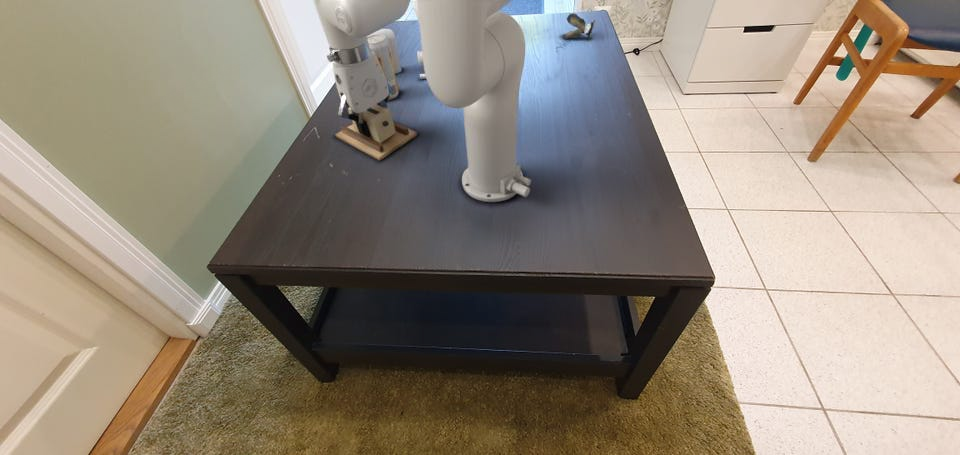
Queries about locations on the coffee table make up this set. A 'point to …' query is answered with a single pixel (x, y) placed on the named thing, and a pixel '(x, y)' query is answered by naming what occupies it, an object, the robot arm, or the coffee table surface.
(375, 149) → the cradle
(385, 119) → the toaster
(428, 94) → the coffee table surface
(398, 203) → the coffee table surface
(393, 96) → the beer can
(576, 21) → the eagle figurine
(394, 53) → the white curved piece
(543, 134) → the coffee table surface
